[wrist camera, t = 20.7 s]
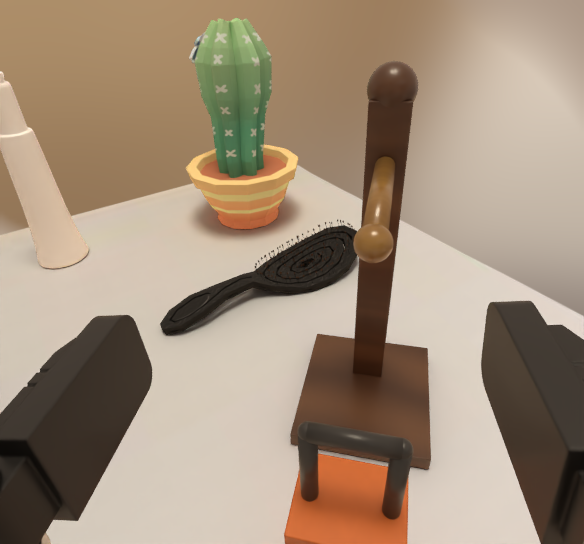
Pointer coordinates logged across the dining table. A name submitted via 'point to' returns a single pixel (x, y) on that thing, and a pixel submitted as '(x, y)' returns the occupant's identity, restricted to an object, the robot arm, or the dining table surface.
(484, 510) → the dining table surface
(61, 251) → the cosmetic bottle
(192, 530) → the dining table surface
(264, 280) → the hairbrush
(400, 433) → the hook stand
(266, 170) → the potted cactus
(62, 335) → the dining table surface
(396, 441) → the orange handled weight
